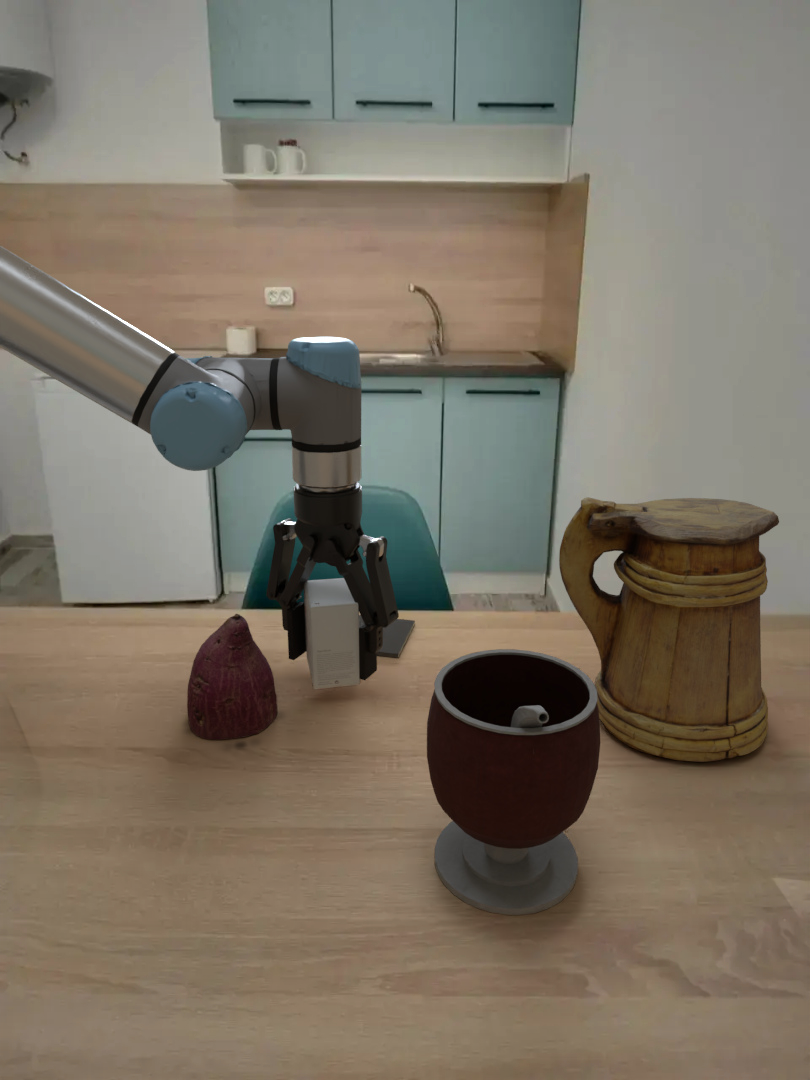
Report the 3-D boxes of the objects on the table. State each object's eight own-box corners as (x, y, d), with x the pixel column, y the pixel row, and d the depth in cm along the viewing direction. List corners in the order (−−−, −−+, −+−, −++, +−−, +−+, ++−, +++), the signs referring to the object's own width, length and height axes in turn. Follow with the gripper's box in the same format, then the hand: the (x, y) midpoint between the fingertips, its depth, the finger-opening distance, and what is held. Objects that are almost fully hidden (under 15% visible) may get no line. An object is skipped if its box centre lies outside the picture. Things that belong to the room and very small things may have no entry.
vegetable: (289, 744, 93) (316, 637, 86) (201, 764, 87) (222, 652, 80) (253, 684, 100) (275, 582, 94) (169, 700, 95) (186, 591, 88)
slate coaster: (323, 649, 108) (323, 645, 108) (345, 617, 117) (345, 613, 117) (398, 658, 106) (398, 653, 106) (414, 624, 115) (414, 620, 115)
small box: (361, 686, 96) (360, 603, 92) (312, 691, 95) (309, 607, 91) (351, 654, 103) (349, 576, 99) (305, 658, 102) (303, 579, 98)
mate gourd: (417, 812, 77) (418, 618, 70) (562, 804, 79) (578, 613, 72) (438, 945, 63) (443, 718, 56) (616, 933, 64) (642, 709, 57)
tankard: (787, 774, 83) (832, 541, 74) (550, 754, 86) (566, 527, 78) (745, 683, 100) (777, 484, 91) (547, 669, 103) (561, 475, 94)
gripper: (432, 488, 89) (428, 672, 97) (267, 462, 99) (276, 632, 106) (399, 507, 83) (398, 702, 91) (226, 477, 92) (238, 656, 100)
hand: (332, 664), depth 98 cm, fingers closed on small box, 9 cm apart
